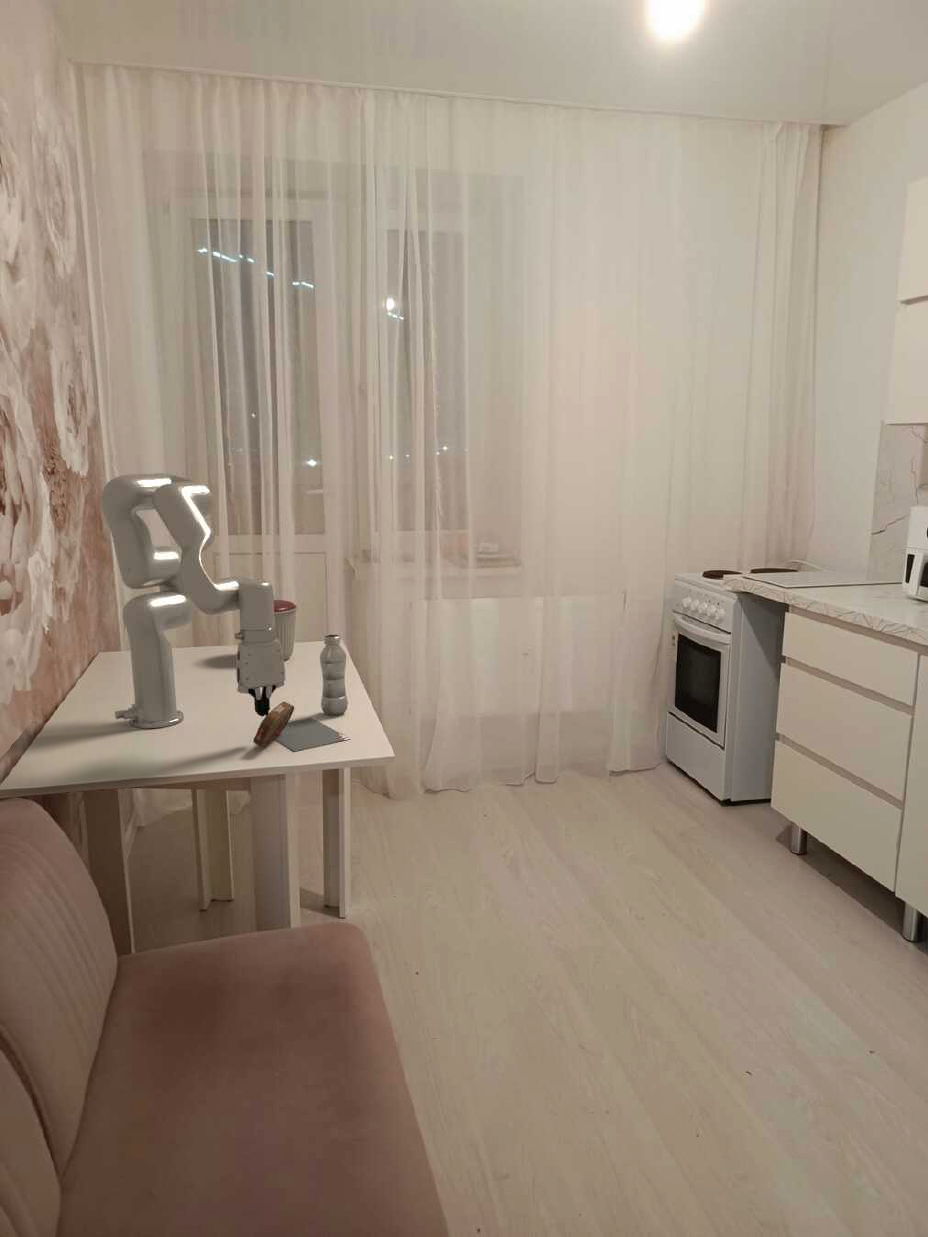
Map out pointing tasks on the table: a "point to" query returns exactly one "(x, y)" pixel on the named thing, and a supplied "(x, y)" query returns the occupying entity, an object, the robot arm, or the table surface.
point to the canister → (285, 625)
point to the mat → (307, 735)
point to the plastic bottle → (333, 676)
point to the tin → (273, 724)
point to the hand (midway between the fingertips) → (262, 714)
